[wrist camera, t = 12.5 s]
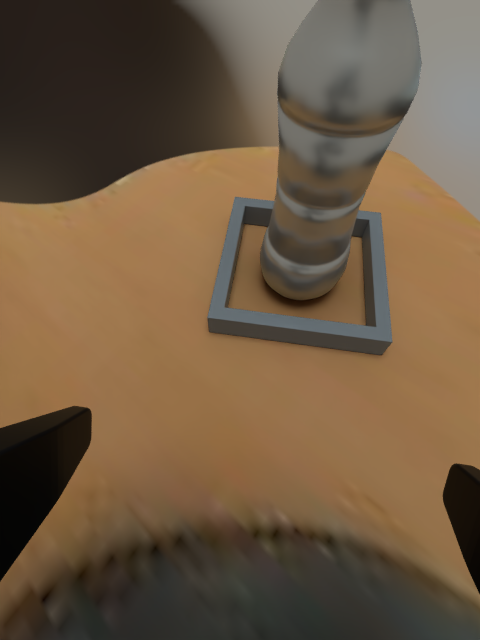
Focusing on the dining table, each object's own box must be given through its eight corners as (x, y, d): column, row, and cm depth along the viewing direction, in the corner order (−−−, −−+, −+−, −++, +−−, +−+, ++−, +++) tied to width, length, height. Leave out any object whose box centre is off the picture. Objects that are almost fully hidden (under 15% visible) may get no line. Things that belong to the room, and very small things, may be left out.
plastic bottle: (241, 283, 28) (249, -97, 11) (289, 235, 31) (353, -127, 14) (309, 326, 26) (442, -58, 9) (353, 271, 29) (519, -102, 12)
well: (381, 355, 25) (392, 342, 24) (209, 331, 26) (207, 317, 24) (373, 230, 32) (380, 212, 30) (234, 214, 33) (235, 196, 31)
